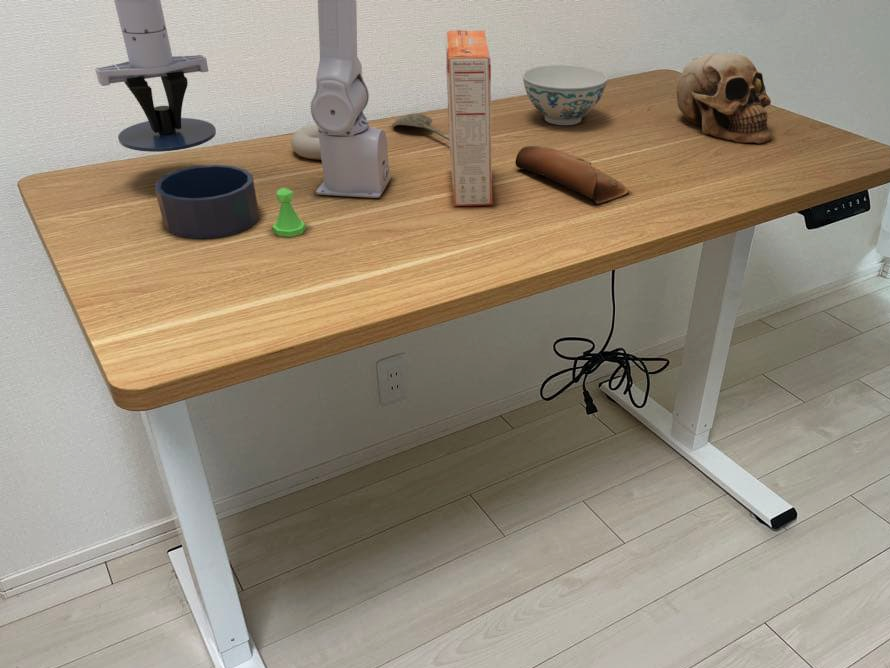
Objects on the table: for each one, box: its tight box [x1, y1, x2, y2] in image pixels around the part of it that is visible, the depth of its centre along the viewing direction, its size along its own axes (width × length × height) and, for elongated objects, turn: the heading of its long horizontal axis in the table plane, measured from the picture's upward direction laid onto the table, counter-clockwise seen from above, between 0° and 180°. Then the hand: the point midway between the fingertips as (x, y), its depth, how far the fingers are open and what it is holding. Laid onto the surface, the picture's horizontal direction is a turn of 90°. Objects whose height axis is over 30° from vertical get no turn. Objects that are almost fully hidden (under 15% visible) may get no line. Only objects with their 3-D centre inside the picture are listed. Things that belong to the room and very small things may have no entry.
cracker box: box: [445, 29, 493, 207], centre depth 121 cm, size 14×6×21 cm, turn 5°
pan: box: [154, 164, 260, 240], centre depth 115 cm, size 12×12×5 cm
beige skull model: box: [676, 52, 772, 144], centre depth 150 cm, size 16×17×13 cm
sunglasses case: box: [515, 145, 630, 205], centre depth 129 cm, size 18×7×7 cm
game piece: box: [272, 187, 307, 238], centre depth 112 cm, size 4×4×6 cm
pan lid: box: [117, 105, 217, 153], centre depth 122 cm, size 13×13×5 cm
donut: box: [290, 124, 322, 161], centre depth 137 cm, size 10×4×10 cm
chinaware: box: [522, 64, 608, 126], centre depth 152 cm, size 15×15×8 cm
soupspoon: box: [392, 113, 450, 141], centre depth 143 cm, size 22×3×7 cm
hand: (166, 128), depth 123 cm, fingers closed on pan lid, 2 cm apart
